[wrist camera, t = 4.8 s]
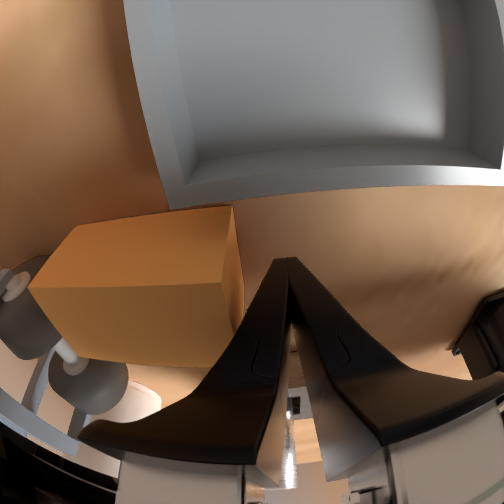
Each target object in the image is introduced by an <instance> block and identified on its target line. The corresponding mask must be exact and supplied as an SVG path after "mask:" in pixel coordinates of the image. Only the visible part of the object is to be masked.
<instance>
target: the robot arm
mask: <svg viewBox="0 0 504 504" xmlns="http://www.w3.org/2000/svg"><path fill="white" fill-rule="evenodd" d="M291 324H292V328H293V332H294V336H295V340H296V345H297V349H298V353H299V357H300V361H301V366H302V370H303V374H304V379H305V383H306V387H307V392H308V396H309V401H310V405H311V410H312V414H313V419H314V423H315V426H316V427H315V428H316V433H317V437H318V442H319V447H320V451H321V456H322V461H323V466H324V471H325V475H326V481H327V482H329V481H335V480H340V479H346V478H348V484H349V493H348V494H343V495H342V502H343V504H504V410H503V411H502V412H501V413H500V412H499V408H500V407H501V406H502V405H504V292H502V293H499V294H496V295H493V296H490V297H487V298H485V299H484V300H483V301H482V302H481V303H480V305H479V307H478V309H477V311H476V312H475V314H474V316H473V318H472V319H471V321H470V323H469V324H468V326H467V328H466V329H465V331H464V333H463V334H462V336H461V337H460V339H459V340H458V342H457V343H456V345H455V346H454V348H453V349H452V354H453V356H456V355H459V354H462V356H463V358H464V360H465V363H466V365H467V367H468V370H469V372H470V374H471V377H472V379H473V380H462V379H457V378H451V377H446V376H441V375H436V374H431V373H427V372H422V371H418V370H415V369H412V368H410V367H408V366H407V365H405V364H404V363H402V362H401V361H400V360H399V359H398V358H396V357H395V356H394V355H393V354H392V353H391V352H389V351H388V350H387V349H386V348H385V347H384V346H383V345H381V344H380V343H379V342H378V341H377V340H376V339H374V338H373V337H372V336H371V335H370V334H369V333H368V332H367V331H366V330H364V329H363V328H362V327H361V325H360V324H359V323H358V322H357V321H356V320H355V319H354V318H353V317H352V316H351V315H350V314H349V313H348V312H347V311H346V310H345V308H344V307H343V306H342V305H341V304H340V303H339V302H338V301H337V300H336V299H335V298H334V296H333V295H332V294H331V293H330V292H329V291H328V290H327V289H326V288H325V287H324V286H323V285H322V284H321V283H320V281H319V280H318V279H317V278H316V277H315V276H314V275H313V274H312V273H311V272H310V271H309V270H308V269H307V268H306V267H305V266H304V265H303V263H302V262H301V261H300V260H299V259H298V258H297V257H286V258H277V259H274V260H273V261H272V263H271V265H270V267H269V269H268V271H267V273H266V275H265V277H264V279H263V281H262V283H261V285H260V287H259V289H258V291H257V293H256V295H255V297H254V299H253V300H252V302H251V304H250V306H249V308H248V310H247V312H246V314H245V316H244V318H243V320H242V321H241V324H240V325H239V327H238V329H237V331H236V333H235V334H234V336H233V338H232V339H231V341H230V343H229V345H228V346H227V347H226V349H225V350H224V352H223V353H222V355H221V356H220V358H219V359H218V360H217V362H216V363H215V364H214V366H213V367H212V368H211V370H210V371H209V372H208V374H207V375H206V376H205V378H204V379H203V380H202V382H201V383H200V384H199V385H198V387H197V388H196V389H195V390H194V391H193V392H192V393H190V394H189V395H188V396H186V397H185V398H183V399H181V400H179V401H177V402H175V403H173V404H171V405H169V406H167V407H165V408H163V409H161V410H159V411H157V412H155V413H153V414H151V415H149V416H146V417H144V418H142V419H139V420H137V421H133V422H126V423H120V422H114V421H109V420H104V419H97V420H95V421H93V422H91V423H89V424H88V425H86V426H85V427H84V428H83V429H82V430H81V431H80V432H79V434H78V435H77V439H78V440H79V441H81V442H83V443H84V444H86V445H88V446H90V447H92V448H94V449H96V450H98V451H100V452H102V453H104V454H106V455H109V456H111V457H113V458H115V459H118V460H120V467H119V473H118V478H115V477H112V476H109V475H106V474H103V473H100V472H97V471H95V470H92V469H89V468H87V467H84V466H82V465H79V464H77V463H74V462H72V461H70V460H67V459H65V458H63V457H61V456H59V455H57V454H55V453H53V452H51V451H49V450H47V449H45V448H43V447H41V446H39V445H37V444H35V443H34V442H32V441H30V440H29V439H27V438H25V437H24V436H22V435H20V434H19V433H17V432H16V431H14V430H12V429H11V428H9V427H8V426H6V425H5V424H3V423H2V422H1V421H0V504H271V503H265V498H264V494H265V493H264V492H265V490H264V488H270V487H279V486H280V476H281V467H282V457H283V447H284V436H285V424H286V411H287V397H288V381H289V364H290V342H291Z"/></svg>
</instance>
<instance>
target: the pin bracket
mask: <svg viewBox="0 0 504 504" xmlns="http://www.w3.org/2000/svg"><path fill="white" fill-rule="evenodd" d="M288 397H292V408H293V420H299V419H308V418H313V414H312V410H311V405H310V401H309V396H308V392H307V387H306V383H305V379H304V374H303V370H302V366H301V361H300V357H299V353H298V351H297V352H290V364H289V381H288ZM288 397H287V398H288Z"/></svg>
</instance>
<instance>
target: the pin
mask: <svg viewBox="0 0 504 504" xmlns="http://www.w3.org/2000/svg"><path fill="white" fill-rule="evenodd" d="M293 488H297V470H296V452H295V436H294V422H293V408H292V397H288V398H287V411H286V424H285V436H284V447H283V457H282V467H281V476H280V486H279V487H270V488H264V490H283V489H293Z"/></svg>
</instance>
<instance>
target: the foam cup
mask: <svg viewBox="0 0 504 504" xmlns="http://www.w3.org/2000/svg"><path fill="white" fill-rule="evenodd" d="M159 410H161V398H160V397H159V396H158V395H157V394H156V393H155V392H154V391H152V390H150V389H148V388H147V387H145V386H143V385H141V384H138V383H136V382H133V381H130V380H128V385H127V389H126V391H125V394H124V396H123V397H122V399H121V400H120V401H119V403H118V404H117V405H116V406H115V407H113V408H112V409H111V410H109V411H107V412H105V413H103V414H99V415H92V416H91V420H90V423H91V422H93V421H95V420H97V419H104V420H109V421H114V422H120V423H126V422H133V421H137V420H139V419H142V418H144V417H146V416H149V415H151V414H153V413H155V412H157V411H159ZM61 457H63V458H65V459H67V460H70V461H72V462H74V463H77V464H79V465H82V466H84V467H87V468H89V469H92V470H95V471H97V472H100V473H103V474H106V475H109V476H112V477H115V478H118V473H119V467H120V460H118V459H115V458H113V457H111V456H109V455H106V454H104V453H102V452H100V451H98V450H96V449H94V448H92V447H90V446H88V445H86V444H83V443H80V442H79V445H78V449H77V453H76V457H73V456H71V455H68V454H66V453H64V452H63V453H62V456H61Z"/></svg>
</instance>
